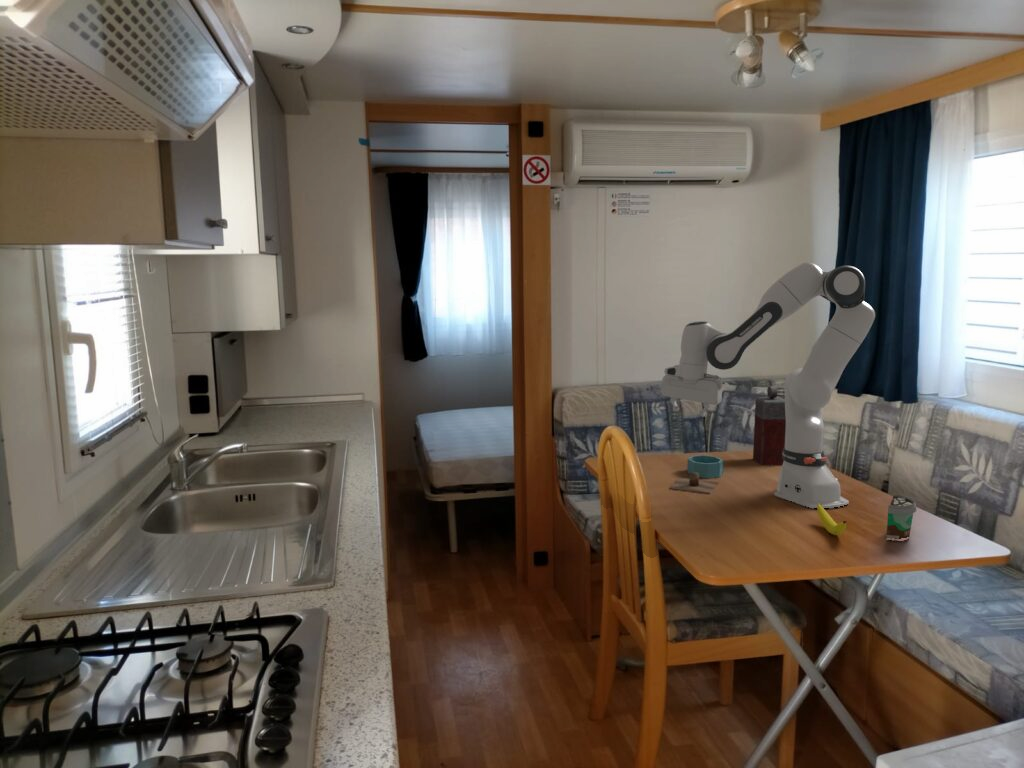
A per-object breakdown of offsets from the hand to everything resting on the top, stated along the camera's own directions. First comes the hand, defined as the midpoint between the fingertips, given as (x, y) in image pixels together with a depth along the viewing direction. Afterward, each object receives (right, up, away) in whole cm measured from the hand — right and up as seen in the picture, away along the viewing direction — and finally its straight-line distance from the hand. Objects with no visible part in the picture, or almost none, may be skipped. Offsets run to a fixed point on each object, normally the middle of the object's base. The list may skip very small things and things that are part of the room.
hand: (689, 413), depth 245 cm
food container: (+46, -31, -45) cm, 71 cm away
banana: (+29, -31, -41) cm, 58 cm away
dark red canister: (+37, -19, +29) cm, 51 cm away
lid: (+2, -24, +1) cm, 24 cm away
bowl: (+9, -21, +15) cm, 28 cm away
